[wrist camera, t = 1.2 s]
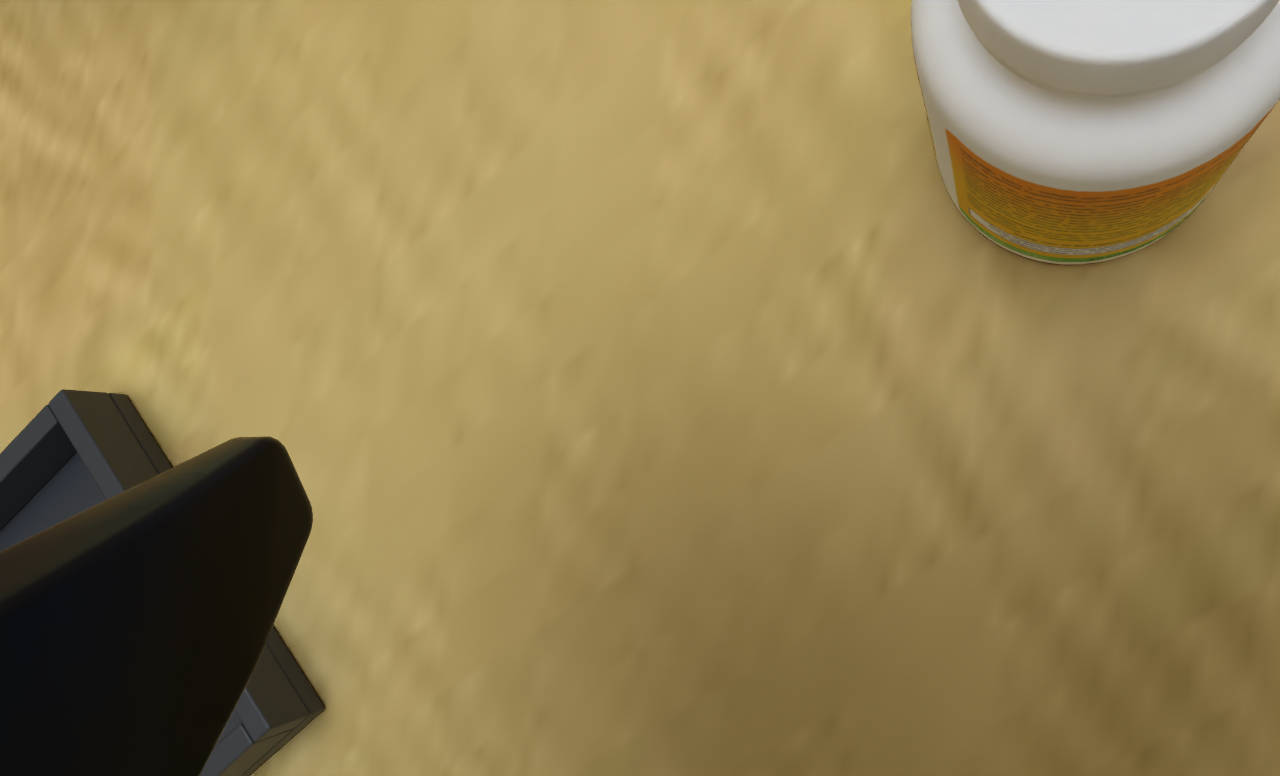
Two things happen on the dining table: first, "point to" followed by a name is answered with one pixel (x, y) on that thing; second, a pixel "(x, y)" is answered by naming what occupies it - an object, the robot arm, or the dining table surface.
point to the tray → (100, 469)
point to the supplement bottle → (1090, 113)
